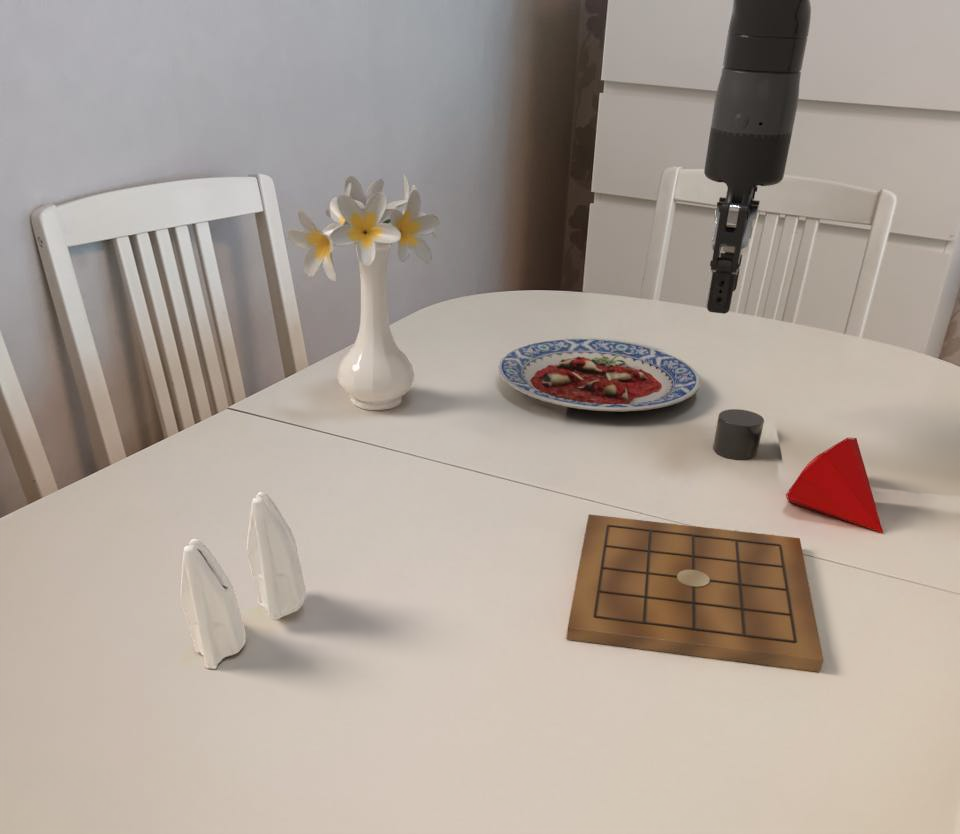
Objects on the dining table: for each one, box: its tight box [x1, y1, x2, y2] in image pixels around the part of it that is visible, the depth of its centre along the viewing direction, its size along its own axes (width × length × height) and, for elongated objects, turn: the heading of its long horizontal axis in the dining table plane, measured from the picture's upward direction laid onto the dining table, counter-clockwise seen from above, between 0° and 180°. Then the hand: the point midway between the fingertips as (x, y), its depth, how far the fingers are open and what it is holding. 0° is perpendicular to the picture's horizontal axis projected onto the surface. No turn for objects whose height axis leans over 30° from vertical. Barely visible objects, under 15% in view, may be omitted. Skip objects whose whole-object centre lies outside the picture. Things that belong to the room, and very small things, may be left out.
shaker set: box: [179, 491, 307, 670], centre depth 75 cm, size 12×4×11 cm, turn 143°
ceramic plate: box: [498, 338, 701, 413], centre depth 125 cm, size 26×26×3 cm
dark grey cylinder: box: [712, 408, 765, 461], centre depth 109 cm, size 5×5×4 cm
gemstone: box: [785, 437, 884, 534], centre depth 97 cm, size 9×9×10 cm
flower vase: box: [285, 173, 441, 411], centre depth 111 cm, size 13×18×25 cm
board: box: [566, 513, 824, 673], centre depth 85 cm, size 20×20×1 cm
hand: (721, 300), depth 100 cm, fingers open, 8 cm apart
